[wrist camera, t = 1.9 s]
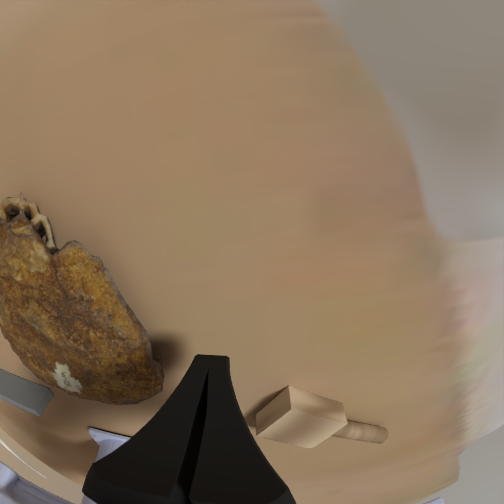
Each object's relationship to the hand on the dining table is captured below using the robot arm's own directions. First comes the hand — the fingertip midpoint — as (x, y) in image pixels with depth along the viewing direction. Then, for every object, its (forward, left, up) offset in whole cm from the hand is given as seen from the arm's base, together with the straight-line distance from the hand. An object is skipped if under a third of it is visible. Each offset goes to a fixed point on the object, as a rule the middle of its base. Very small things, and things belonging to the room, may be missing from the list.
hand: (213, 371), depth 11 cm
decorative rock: (0, +10, -4) cm, 11 cm away
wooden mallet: (-10, -8, -4) cm, 13 cm away
